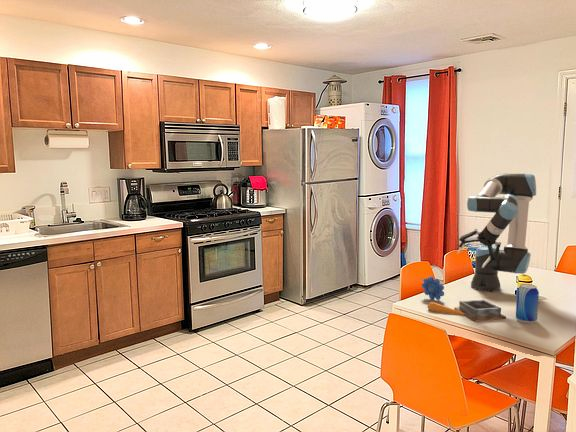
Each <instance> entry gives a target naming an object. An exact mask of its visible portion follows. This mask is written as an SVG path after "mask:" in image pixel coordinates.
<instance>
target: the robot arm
mask: <svg viewBox="0 0 576 432" xmlns="http://www.w3.org/2000/svg"><path fill="white" fill-rule="evenodd" d="M536 181H537V180H536V177H535V175H534V174H532V173H531V174H530V173H500V174H497V175H494V176H491V177H489V178H488V179H487V180H486V181H485V183H483V187H482V189H481V190H480V192H479V193H478V194H477V196H475V195H474V196H469V197H468V199H467V203H466V205H467V206H466V208H467V211H469V212H475V213H494V215H493V216H492V217H491V219H490V220H489V221H488V223H487V224H486V225H485V227H483V229H482V230H481V232H479V231H478V229H477V228H474V229H473V230H472V231H470V232H469V233H466V234H464V235H463V234H462V235H461V236H460V237H459V241H460V244H459V245H458V247H459V249H458V250H457V252H456V253H457V254H460V252H461V251H462V250H463V248H464V247H465V245H467V244H469V243H477V242H479V243H480V244H482V245H483V246H480V247H478V248H476V250H475V257H474V258H475V262H474V264H475V265H474V266H475V267H474V275H473V277H472V280H471V282H470V287H471V288H472V289H475V290H477V291H482V292H500V290H501V287H502V286H501V283H500V280H499V276H498V274H499V272H503V273H512V274H526V273H527V271H528V269H529V265H530V261H531V256H532V255H531V252H528V251H529V249H528V247H526V237H527V228H528V217H529V208H530V207H529V206H530V201H532V200H533V198H534V197H535V196H537V183H536ZM498 195H504V196H503V197H501V196H500V197H497V196H498ZM507 227H508V233H507V243H506V245H505V246H503V249H500V248H501V245H502V243H501V242H498V241H497V239H499V237H500V236H501V235H502V234H503V232H504V231H505V230H506V229H507ZM473 236H475V237H473ZM494 245H495V246H494Z"/></svg>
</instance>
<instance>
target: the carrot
mask: <svg viewBox="0 0 576 432" xmlns="http://www.w3.org/2000/svg"><path fill="white" fill-rule="evenodd" d="M427 309H428V311H430V312H436V313H444V314H448V315H449V314H450V315H457V316H464V313H462V312H460V311H457V310H454V308H451V307H448V306H445V305H442V304H440V303H436V302H432V301H430V302H429V304H428V305H427ZM464 317H465V316H464Z"/></svg>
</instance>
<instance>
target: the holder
mask: <svg viewBox="0 0 576 432" xmlns="http://www.w3.org/2000/svg"><path fill="white" fill-rule="evenodd" d="M453 309H454V310H457V311H460V312H462V313H464V317H466V318H468V319H469V320H471V321H472V322H480V321H482V322H484V321H493V320H506V319H507V316H506V315H504V314H502V308H501V307H499V306H497V305H496V304H495V303H494V304H493V303H491V302H489V301H488V300H486V299H475V300H459V306H456V307H453Z"/></svg>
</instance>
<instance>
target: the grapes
mask: <svg viewBox="0 0 576 432" xmlns="http://www.w3.org/2000/svg"><path fill="white" fill-rule="evenodd" d="M422 279H423V281H422V283H421V288H422V289H423V293H424V294H425V296H428V297H429V299H431V300H435V299H436V300H437V301H440V299H442V298H441V297H443V296H445V292H444V290H445V286H444V285H443V284H441V282H440V280H439V278H434V277H433V276H432V275H430V276H428V278H426V277H424V278H422Z"/></svg>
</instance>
